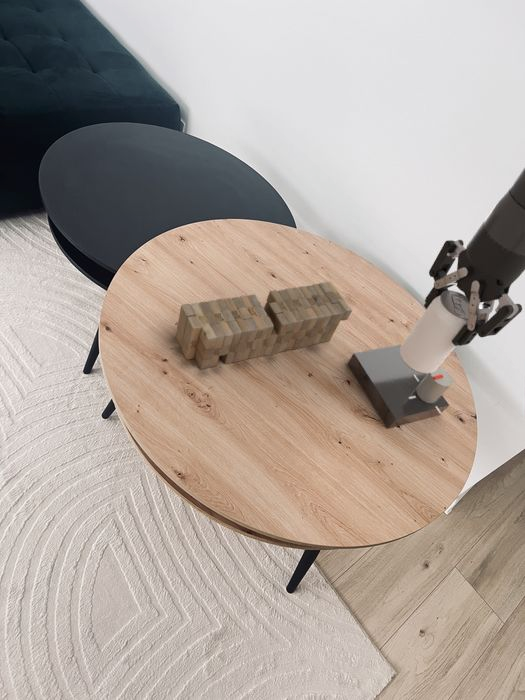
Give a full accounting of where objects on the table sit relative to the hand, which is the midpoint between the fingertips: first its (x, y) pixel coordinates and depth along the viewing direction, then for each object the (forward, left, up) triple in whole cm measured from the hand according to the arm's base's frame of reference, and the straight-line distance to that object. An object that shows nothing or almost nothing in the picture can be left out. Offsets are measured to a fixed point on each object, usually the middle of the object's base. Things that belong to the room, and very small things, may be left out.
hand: (443, 325), depth 77 cm
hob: (+2, -4, -20) cm, 20 cm away
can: (0, 0, -8) cm, 8 cm away
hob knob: (-2, -7, -17) cm, 18 cm away
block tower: (+18, +16, -20) cm, 31 cm away
